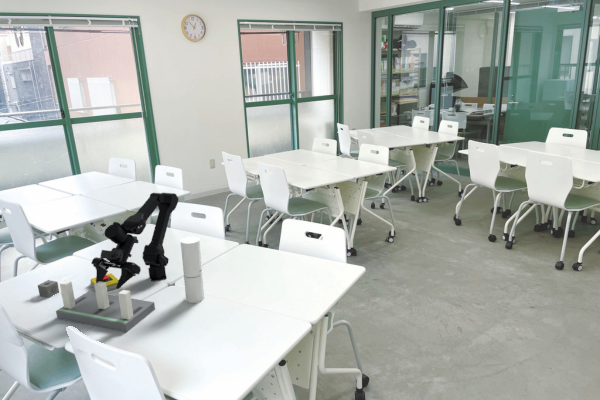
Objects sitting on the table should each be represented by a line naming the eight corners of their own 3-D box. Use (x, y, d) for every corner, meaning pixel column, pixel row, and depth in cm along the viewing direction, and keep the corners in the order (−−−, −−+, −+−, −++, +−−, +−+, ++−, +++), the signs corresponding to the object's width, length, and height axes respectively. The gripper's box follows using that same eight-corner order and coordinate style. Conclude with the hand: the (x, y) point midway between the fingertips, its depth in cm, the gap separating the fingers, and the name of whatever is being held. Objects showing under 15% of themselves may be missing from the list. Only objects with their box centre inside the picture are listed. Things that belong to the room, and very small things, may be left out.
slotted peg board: (89, 297, 175) (84, 268, 172) (155, 309, 166) (151, 278, 163) (57, 318, 161) (51, 286, 157) (127, 332, 152) (122, 298, 148)
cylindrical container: (207, 295, 176) (203, 237, 169) (198, 304, 169) (193, 244, 163) (192, 293, 178) (187, 235, 171) (182, 301, 172) (176, 242, 165)
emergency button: (110, 269, 192) (122, 280, 182) (111, 278, 194) (123, 289, 183) (87, 275, 187) (99, 287, 176) (89, 284, 188) (100, 297, 177)
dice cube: (39, 296, 177) (37, 285, 176) (50, 290, 182) (48, 280, 181) (49, 298, 176) (46, 287, 174) (59, 292, 180) (57, 281, 179)
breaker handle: (103, 304, 163) (99, 281, 161) (109, 306, 162) (106, 282, 160) (98, 308, 161) (94, 284, 158) (104, 309, 160) (101, 285, 157)
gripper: (91, 237, 166) (72, 276, 159) (132, 242, 160) (115, 283, 153) (108, 249, 175) (92, 286, 168) (147, 254, 169) (132, 293, 162)
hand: (107, 287), depth 162 cm, fingers open, 9 cm apart
